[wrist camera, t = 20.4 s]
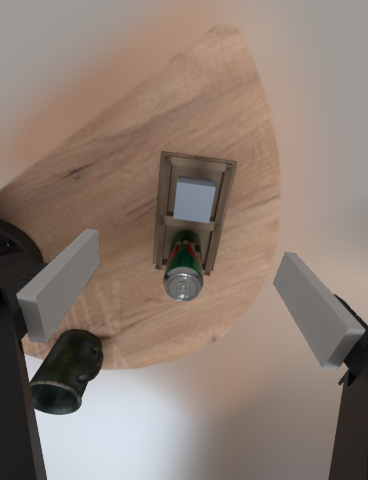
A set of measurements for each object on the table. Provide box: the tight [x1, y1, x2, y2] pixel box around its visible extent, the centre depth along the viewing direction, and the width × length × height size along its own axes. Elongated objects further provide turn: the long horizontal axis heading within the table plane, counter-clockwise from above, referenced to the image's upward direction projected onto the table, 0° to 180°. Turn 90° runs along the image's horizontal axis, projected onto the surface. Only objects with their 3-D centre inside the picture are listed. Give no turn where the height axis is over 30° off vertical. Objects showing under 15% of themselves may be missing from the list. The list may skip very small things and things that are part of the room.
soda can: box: [163, 231, 203, 301], centre depth 31 cm, size 5×5×12 cm
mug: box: [30, 330, 103, 415], centre depth 45 cm, size 11×15×12 cm
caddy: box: [153, 151, 237, 276], centre depth 34 cm, size 11×19×3 cm, turn 173°
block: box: [173, 175, 216, 223], centre depth 31 cm, size 5×5×5 cm
